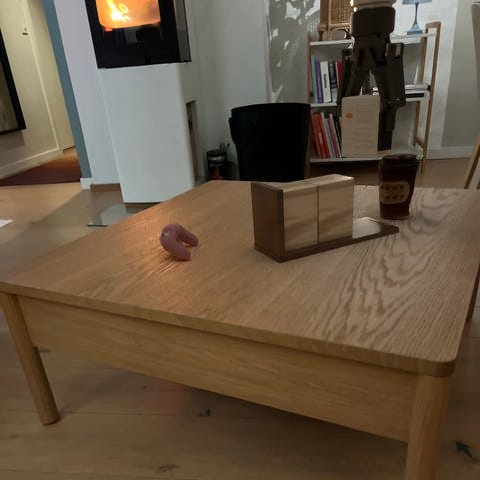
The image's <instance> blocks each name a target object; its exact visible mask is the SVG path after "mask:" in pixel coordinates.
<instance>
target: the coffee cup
mask: <svg viewBox="0 0 480 480" xmlns="http://www.w3.org/2000/svg"><path fill="white" fill-rule="evenodd" d="M417 157H418V154H415V153H394V154H393V153H392V154H389V155H386V156H383V157H381V160H380V161H379V162H378V166H377V167H378V169H377V170H378V203H379V204H378V205H379V216H380V217H381V218H385V219H393V220H394V219H395V220H397V219H398V220H399V219H407V218H409V217H411V216H410V215H411V213H410V205H411V203H412V198H413V196H414V194H415V193H414V192H415V187H416V179H417V173H418V171H419V168H420V164H421V163H420V160H419V159H417Z"/></svg>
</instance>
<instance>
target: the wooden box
mask: <svg viewBox="0 0 480 480" xmlns="http://www.w3.org/2000/svg"><path fill="white" fill-rule="evenodd" d="M250 196H251V197H250V198H251V212H252V225H253V240H254V241H253V242H254V244H253V248H254V249H255V250H256V251H258V252H259V253H262V254H264V255H265V256H267V257H269V258H270V259H271V260H274V261H276V262H278V263H284V262H285V263H286V262H289V261H292V260H296V259H300V258H303V257H307V256H312V255H315V254H320V253H323V252H327V251H330V250H331V251H332V250H335V249H338V248H342V247H346V246H350V245H355V244H358V243H362V242H365V241H369V240H374V239H377V238H381V237H385V236H388V235H392V234H396V233H399V232H400V226H398V225H397V226H396V225H393V224H390V223H387V222H384V221H381V220H378V219H375V218H371V217H369V216H365V217H361V218H355V219H354V204H355V202H354V201H355V177H351V176H346V175H342V174H338V173H333V174H327V175H322V176H318V177H317V176H316V177H312V178H307V179H301V180H297V181H291V182H284V183H280V184H275V185H270V184H266V183H264V182H261V181H258V180H253V181H250Z"/></svg>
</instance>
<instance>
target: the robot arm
mask: <svg viewBox="0 0 480 480" xmlns="http://www.w3.org/2000/svg"><path fill="white" fill-rule="evenodd" d="M396 3H397V0H350V8H351V9H353V11H351V12H350V14H349V36H350V37H351V38H353V44H352V47H350V48H343V49H341V67H340V72H339V80H338V85H337V86H338V87H337V94H336V100H335V104H336V106H337V107H340V108H342V98H346V97H352V96H358V95H361V92H362V88H363V85H364V82H365V80H366V77H367V75H369V73H370V74H371V75H372V76H373V77H374V81H375V84H376V88H377V93H378V94H379V96H380V100H381V104H382V109H381V110H380V112H379V126H378V145H377V151H385V150H391V149H392V150H393V144H392V135H393V136H394V131H395V128H396V119H397V118H396V117H397V116H396V115H397V111H398V110H399V109H401V108H404V107H406V106H407V95H406V83H405V70H404V59H403V58H404V51H405V43H404V42H402V41H401V42H400V41H399V42H392V40H391V34H393V33H394V31H395V29H396V12H397V10H396V8H395V7H394V6H393V5H394V4H396ZM389 102H390V103H389Z"/></svg>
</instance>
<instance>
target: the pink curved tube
mask: <svg viewBox="0 0 480 480" xmlns="http://www.w3.org/2000/svg"><path fill="white" fill-rule="evenodd" d="M158 238H159V243H160V245H161V247H162V248H163V249H164V250H165V252H167V253H169V254H171V255H172V256H174V257H175V258H177V259H178V260H179V259H180V260H183V261H189V260H190V259H191V257H192V254H191V251H190V250H189V249H188V248H187V247H185V245H184V244H186V245H188V246H194V247H197V246H198V245H199V238H198V237H197V236H196V234H194V233H192V232H191V231H190V230H187V229H186V228H185V227H184V226H183V225H181V224H179V223H178V221H177V222H175V223H169V224H167V225H166V226H164V227H163V228H162V230H161V235H160V236H159V237H158Z"/></svg>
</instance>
